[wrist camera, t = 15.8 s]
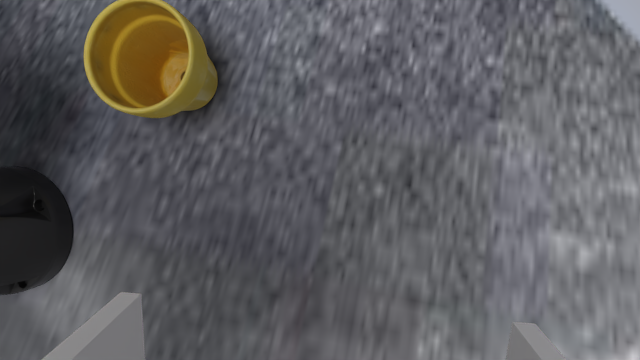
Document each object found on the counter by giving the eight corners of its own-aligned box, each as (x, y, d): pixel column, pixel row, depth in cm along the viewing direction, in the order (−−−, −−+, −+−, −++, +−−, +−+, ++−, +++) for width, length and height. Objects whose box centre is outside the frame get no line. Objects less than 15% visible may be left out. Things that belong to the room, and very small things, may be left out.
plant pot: (181, 15, 41) (123, -31, 32) (252, 68, 40) (215, 39, 31) (131, 90, 42) (61, 68, 33) (199, 144, 42) (147, 138, 32)
